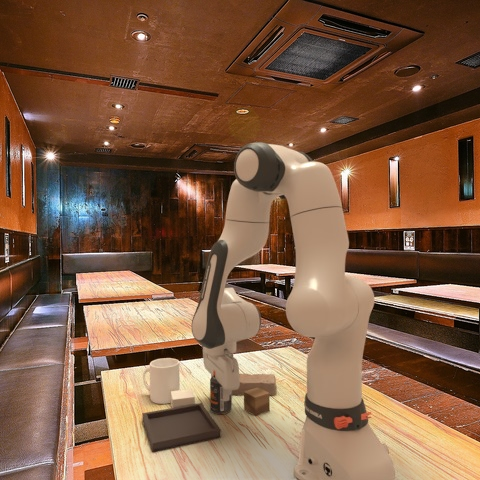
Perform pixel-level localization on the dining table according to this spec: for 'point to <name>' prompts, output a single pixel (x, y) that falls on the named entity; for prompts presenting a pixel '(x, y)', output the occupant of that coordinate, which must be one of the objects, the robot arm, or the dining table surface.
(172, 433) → the tray
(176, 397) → the ceramic block
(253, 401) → the walnut cube
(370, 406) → the dining table surface
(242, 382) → the brick
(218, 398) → the pill bottle
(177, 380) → the mug
